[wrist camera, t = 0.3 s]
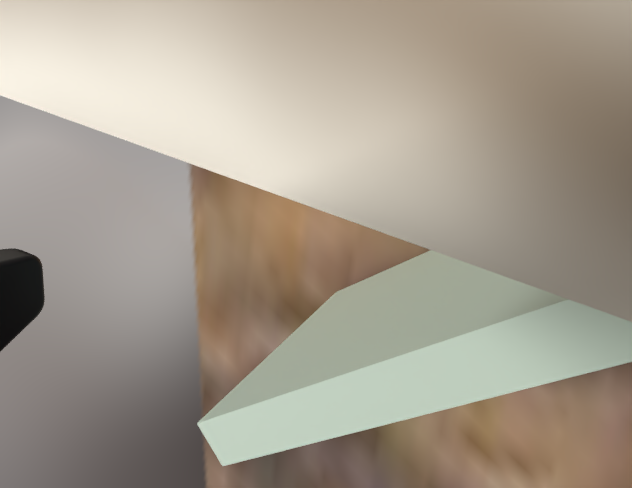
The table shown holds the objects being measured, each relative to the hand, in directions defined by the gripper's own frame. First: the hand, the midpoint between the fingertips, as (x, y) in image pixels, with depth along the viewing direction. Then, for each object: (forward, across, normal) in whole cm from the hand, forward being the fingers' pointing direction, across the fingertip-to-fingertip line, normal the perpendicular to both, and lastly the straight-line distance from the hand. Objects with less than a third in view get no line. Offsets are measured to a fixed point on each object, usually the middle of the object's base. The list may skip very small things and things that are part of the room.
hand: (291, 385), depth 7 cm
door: (+14, -2, +4) cm, 15 cm away
